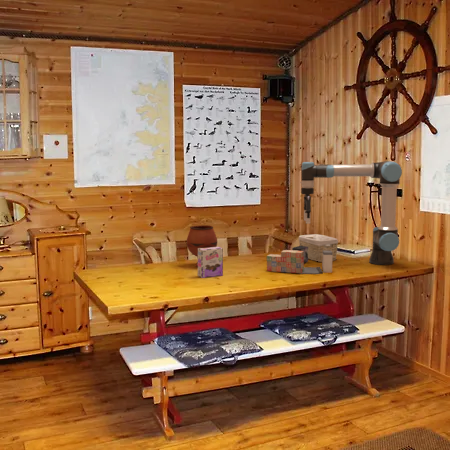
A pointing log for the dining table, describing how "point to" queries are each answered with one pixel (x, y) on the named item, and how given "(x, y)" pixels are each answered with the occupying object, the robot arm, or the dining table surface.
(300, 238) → the storage basket
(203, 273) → the candy box
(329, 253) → the tall block
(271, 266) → the stack of blocks
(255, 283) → the dining table surface
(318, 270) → the pad
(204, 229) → the terracotta clay vase
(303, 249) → the small box
